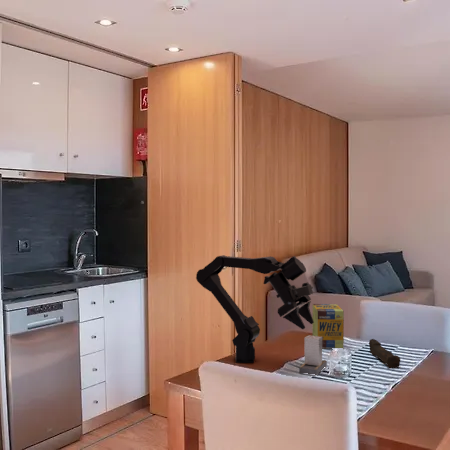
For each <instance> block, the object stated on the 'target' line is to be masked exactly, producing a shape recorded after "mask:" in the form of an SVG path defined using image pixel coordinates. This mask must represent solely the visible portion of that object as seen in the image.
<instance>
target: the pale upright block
mask: <svg viewBox="0 0 450 450" xmlns="http://www.w3.org/2000/svg"><path fill="white" fill-rule="evenodd" d="M322 360H323V350H322V337H319V336H312V335H306V336H304V363H305V364H309V365H316V366H319V365H320V364H321V363H322Z"/></svg>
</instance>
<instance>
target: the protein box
mask: <svg viewBox="0 0 450 450" xmlns="http://www.w3.org/2000/svg"><path fill="white" fill-rule="evenodd" d="M344 316H345V314H344V310H343V309H342V308H341V307H340V306H339V305H338V304H335V303H334V304H332V303H329V304H327V303H312V318H313V321H314V323H313V324H311V325H312V326H311V327H312V329H311V330H312V331H311V332H312V335H311V336H319V337H322V349H332V348H343V349H344V344H345V343H344V340H345V339H344V338H345V337H344V324H345V323H344V321H345V320H344V318H345V317H344Z"/></svg>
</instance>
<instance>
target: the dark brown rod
mask: <svg viewBox="0 0 450 450" xmlns="http://www.w3.org/2000/svg"><path fill="white" fill-rule="evenodd" d="M368 345H369V351H370V353H371V355H372V356H373V357H377V358H378V359H379V360H381V361H382V362H383V363H385V364H386V367H387V368H388V369H397V368H399V367H400V365H401V357H400V356H398V355H395V354H393V352H391V351H389V350H387V349H386V348H385V347H383V346H382V344H381V342H380V341H378V340H377V339H374V338H371V339H369V342H368Z"/></svg>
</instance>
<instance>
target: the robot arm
mask: <svg viewBox="0 0 450 450" xmlns="http://www.w3.org/2000/svg"><path fill="white" fill-rule="evenodd" d="M224 268H235V269H246V270H252V271H253V272H256V273H259V274H262V275H266V276H264V280H263V284H264V285H267V284H270V285H271V286H272V288H273V290H274V291H275V292H276V298H278V299H279V298H280V300H281V302H282V303H283V305H281V306H280V307H278V308H277V314H278V315H279V317H282V318H283V319H285V320H287V321H289V322H290V323H292V324H293V325H295V326H297V327H298V328H300V329H301V330H304V329H305V328H306V326H305V324H304V322H303V320H302V318H304V320H305V321H307V322H308V323H309V324H310V325H312V324H313V323H314V321H313V318H312V316H313V314H312V313H311V310H310V305H311V303H312V298H311V297H310V296H311V294H312V295H313V294H314V291H313V290H314V288H313V286H312V284H310V283H309V282H308V281H307V282H304V283H302V285H301V286H300V287H296V286H295V285H292V284H291V283H290V281H294V280H296V279H298V278H299V277H301V276H302V275H303V274H305V273H306V272H307V269H306V265H305V264H304V263H303V262H302V261H301V260H299V258H297V257H296V256H295V255H293V256H291V257H290V258H289V259H288V260H287V261H285V262H281V261H278V260H277V259H276V257H274V256H263V257H262V256H261V257H254V258H253V257H252V258H251V257H240V256H228V255H218V256H216V257H215V258H214V259H213V260H212V261H210V262H209V263H208V264H207V265H205V266H204V267H203V268H200V269H198V271H196V274H195V275H196V276H195V279H196V281H197V283H198V284H199V285H201V286H202V287H203V288H204V289H205V290H207V291H208V292H210V293H211V294H212V296H214V299H216V301H217V302H218V303H219V305H220V306H221V307H222V309H223V311H225V313H226V314H227V315H228V317H229V318H230V320H232V322H233V325H234V329H235V332H236V334H237V335H236V336H235V337H234V338H233V339H232V340H231V341H232V344H233V346H235V358H234V359H235V363H237V364H238V363H239V364H241V363H243V364H247V363H249V364H250V363H252V364H253V363H255V359H256V348H255V346H254V343H255V341H256V340H257V338H258V337H259V336H260V331H261V329H260V326H259V325H260V324H259V323H258V322H257V321H256V320H255V318H254V317H253V315H251V316H249V317H248V316H247V315H245V314H244V313H243V311H242V310H241V309H240V307H239V306H238V305H237V304H236V302H235V301H234V300H233V298H232V297H231V296H230V294H229V292H227V290H226V289H225V288H224V286H223V285H222V282H221V278H220V275H219V274H220V273H221V272H222V271H223V270H224ZM278 271H279V272H278ZM268 274H270V275H268Z"/></svg>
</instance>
